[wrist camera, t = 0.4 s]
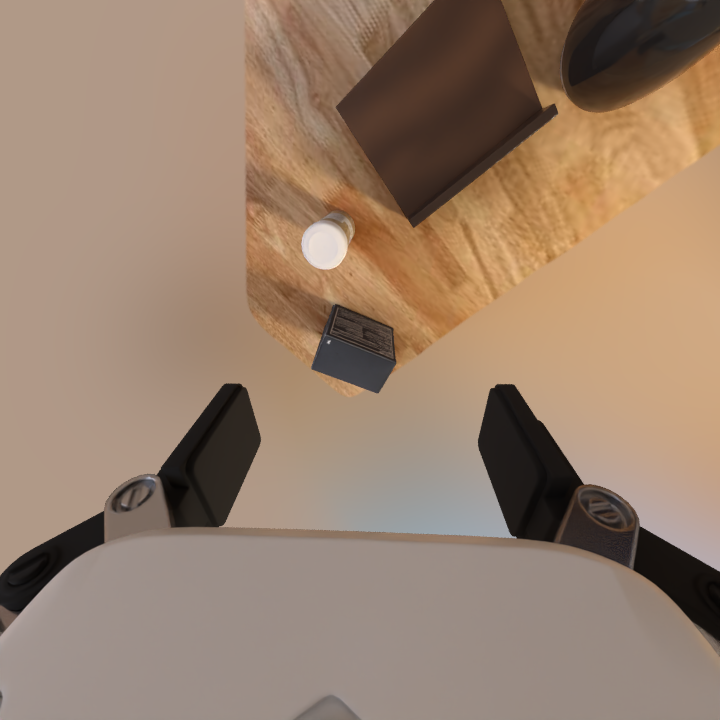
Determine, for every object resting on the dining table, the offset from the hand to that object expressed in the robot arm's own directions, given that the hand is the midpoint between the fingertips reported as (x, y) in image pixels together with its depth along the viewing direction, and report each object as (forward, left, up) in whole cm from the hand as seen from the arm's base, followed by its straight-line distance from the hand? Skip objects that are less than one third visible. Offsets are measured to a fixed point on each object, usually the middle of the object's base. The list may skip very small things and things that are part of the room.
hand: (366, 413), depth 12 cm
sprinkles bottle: (-5, -3, -36) cm, 36 cm away
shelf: (-7, +13, -35) cm, 38 cm away
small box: (+9, -11, -36) cm, 38 cm away
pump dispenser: (-1, +29, -36) cm, 46 cm away
